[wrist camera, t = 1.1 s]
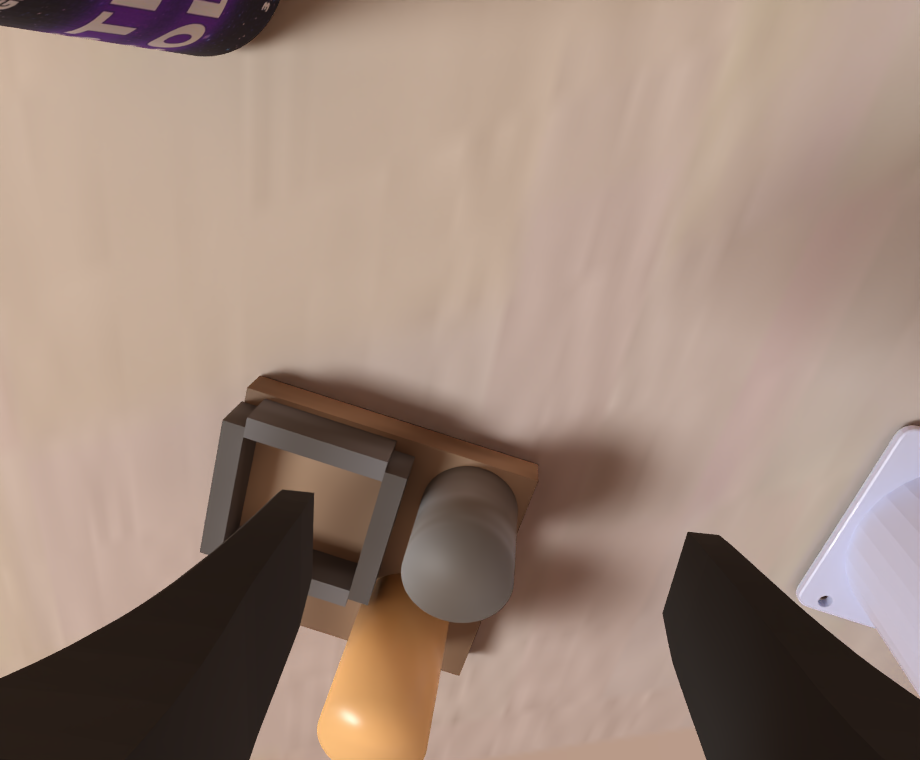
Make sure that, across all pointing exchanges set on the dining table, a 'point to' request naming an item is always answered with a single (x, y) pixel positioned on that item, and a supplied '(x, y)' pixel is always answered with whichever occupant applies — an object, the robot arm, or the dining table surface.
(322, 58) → the dining table surface
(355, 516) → the housing
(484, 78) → the dining table surface
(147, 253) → the dining table surface
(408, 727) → the orange capsule
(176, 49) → the beverage can
